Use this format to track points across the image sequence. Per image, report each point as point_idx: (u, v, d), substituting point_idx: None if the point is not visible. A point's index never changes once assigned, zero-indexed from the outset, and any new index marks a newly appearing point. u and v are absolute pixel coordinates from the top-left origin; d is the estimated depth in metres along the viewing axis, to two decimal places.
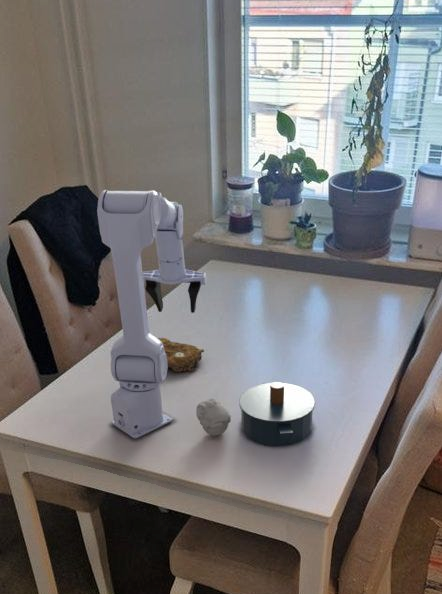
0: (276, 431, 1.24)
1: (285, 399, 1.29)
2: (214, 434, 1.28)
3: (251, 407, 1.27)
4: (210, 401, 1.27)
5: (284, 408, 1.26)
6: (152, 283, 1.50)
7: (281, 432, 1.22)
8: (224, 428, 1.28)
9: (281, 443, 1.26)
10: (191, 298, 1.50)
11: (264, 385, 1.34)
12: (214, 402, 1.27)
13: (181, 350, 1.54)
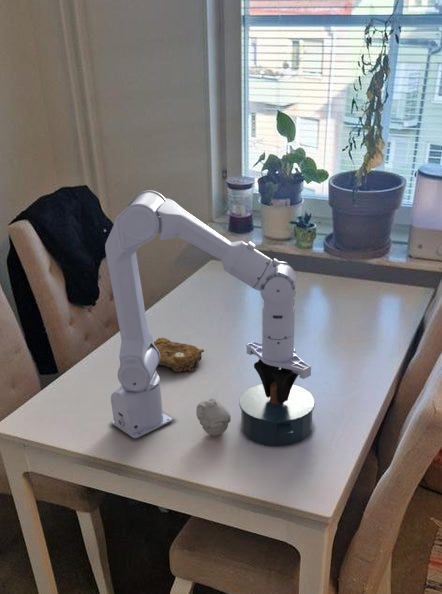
0: (276, 431, 1.24)
1: None
2: (214, 434, 1.28)
3: (251, 407, 1.27)
4: (210, 401, 1.27)
5: (284, 408, 1.26)
6: None
7: (281, 432, 1.22)
8: (224, 428, 1.28)
9: (281, 443, 1.26)
10: (277, 385, 1.24)
11: None
12: (214, 402, 1.27)
13: (181, 350, 1.54)
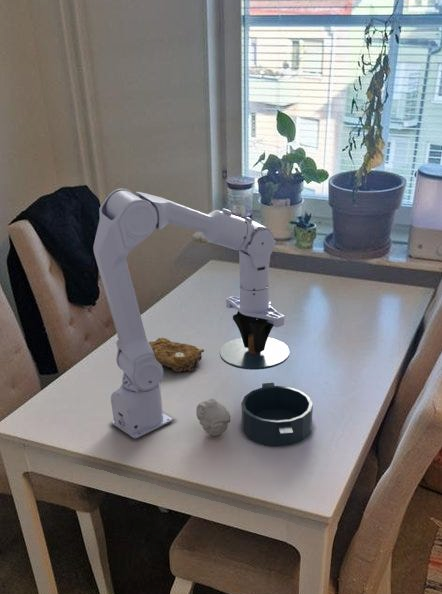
0: (276, 431, 1.24)
1: None
2: (214, 434, 1.28)
3: (231, 356, 1.37)
4: (210, 401, 1.27)
5: (261, 357, 1.37)
6: None
7: (281, 432, 1.22)
8: (224, 428, 1.28)
9: (281, 443, 1.26)
10: (254, 334, 1.34)
11: None
12: (214, 402, 1.27)
13: (181, 350, 1.54)
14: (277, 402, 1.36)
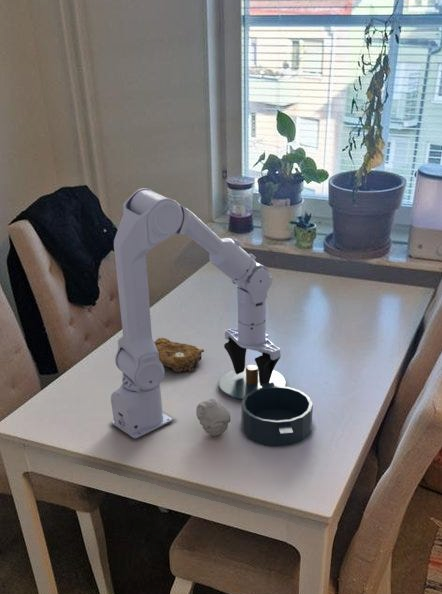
0: (276, 431, 1.24)
1: None
2: (214, 434, 1.28)
3: (229, 387, 1.43)
4: (210, 401, 1.27)
5: (258, 388, 1.43)
6: (233, 342, 1.43)
7: (281, 432, 1.22)
8: (224, 428, 1.28)
9: (281, 443, 1.26)
10: (259, 369, 1.39)
11: None
12: (214, 402, 1.27)
13: (181, 350, 1.54)
14: (277, 402, 1.36)
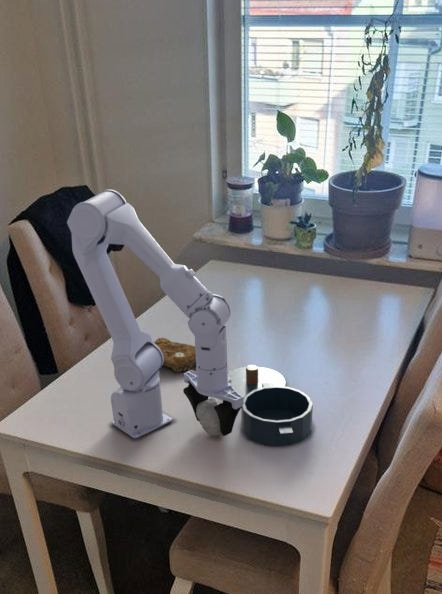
0: (276, 431, 1.24)
1: (259, 380, 1.45)
2: (214, 434, 1.28)
3: None
4: (210, 401, 1.27)
5: (258, 388, 1.43)
6: (193, 386, 1.28)
7: (281, 432, 1.22)
8: None
9: (281, 443, 1.26)
10: (219, 418, 1.24)
11: (241, 368, 1.50)
12: (214, 402, 1.27)
13: (181, 350, 1.54)
14: (277, 402, 1.36)
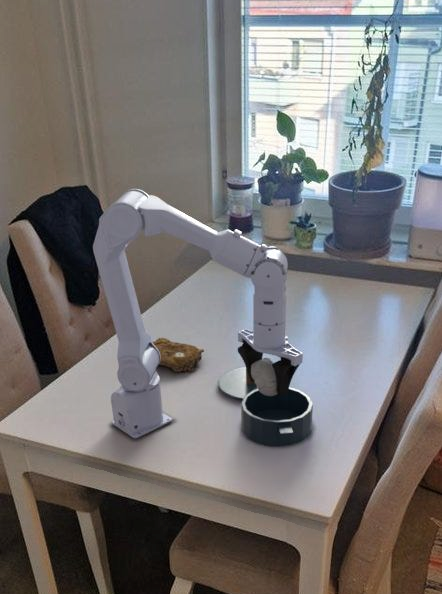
0: (276, 431, 1.24)
1: None
2: (269, 394, 1.25)
3: (229, 387, 1.43)
4: (265, 360, 1.24)
5: None
6: (248, 345, 1.25)
7: (281, 432, 1.22)
8: None
9: (281, 443, 1.26)
10: (277, 376, 1.21)
11: (241, 368, 1.50)
12: (270, 361, 1.24)
13: (181, 350, 1.54)
14: (277, 402, 1.36)
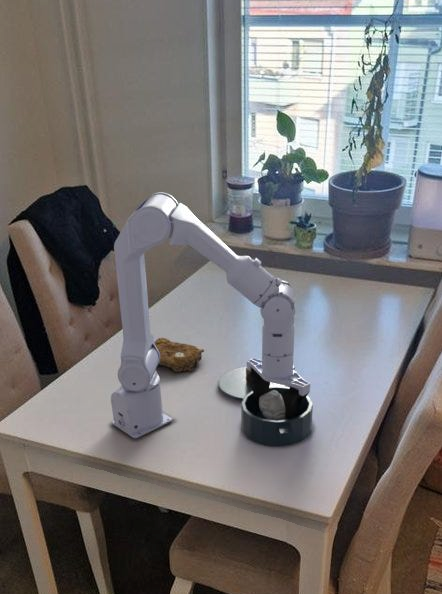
0: (276, 431, 1.24)
1: None
2: None
3: (229, 387, 1.43)
4: (273, 393, 1.28)
5: None
6: (256, 373, 1.28)
7: (281, 432, 1.22)
8: None
9: (281, 443, 1.26)
10: (286, 405, 1.24)
11: (241, 368, 1.50)
12: (277, 394, 1.28)
13: (181, 350, 1.54)
14: None
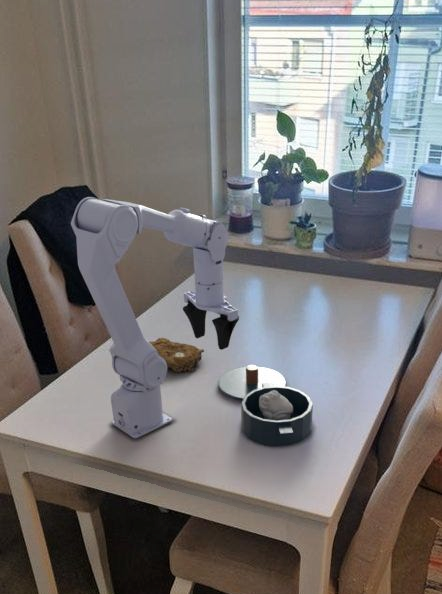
0: (276, 431, 1.24)
1: (259, 380, 1.45)
2: None
3: (229, 387, 1.43)
4: (273, 393, 1.28)
5: (258, 388, 1.43)
6: (192, 304, 1.40)
7: (281, 432, 1.22)
8: None
9: (281, 443, 1.26)
10: (217, 331, 1.36)
11: (241, 368, 1.50)
12: (277, 394, 1.28)
13: (181, 350, 1.54)
14: None
